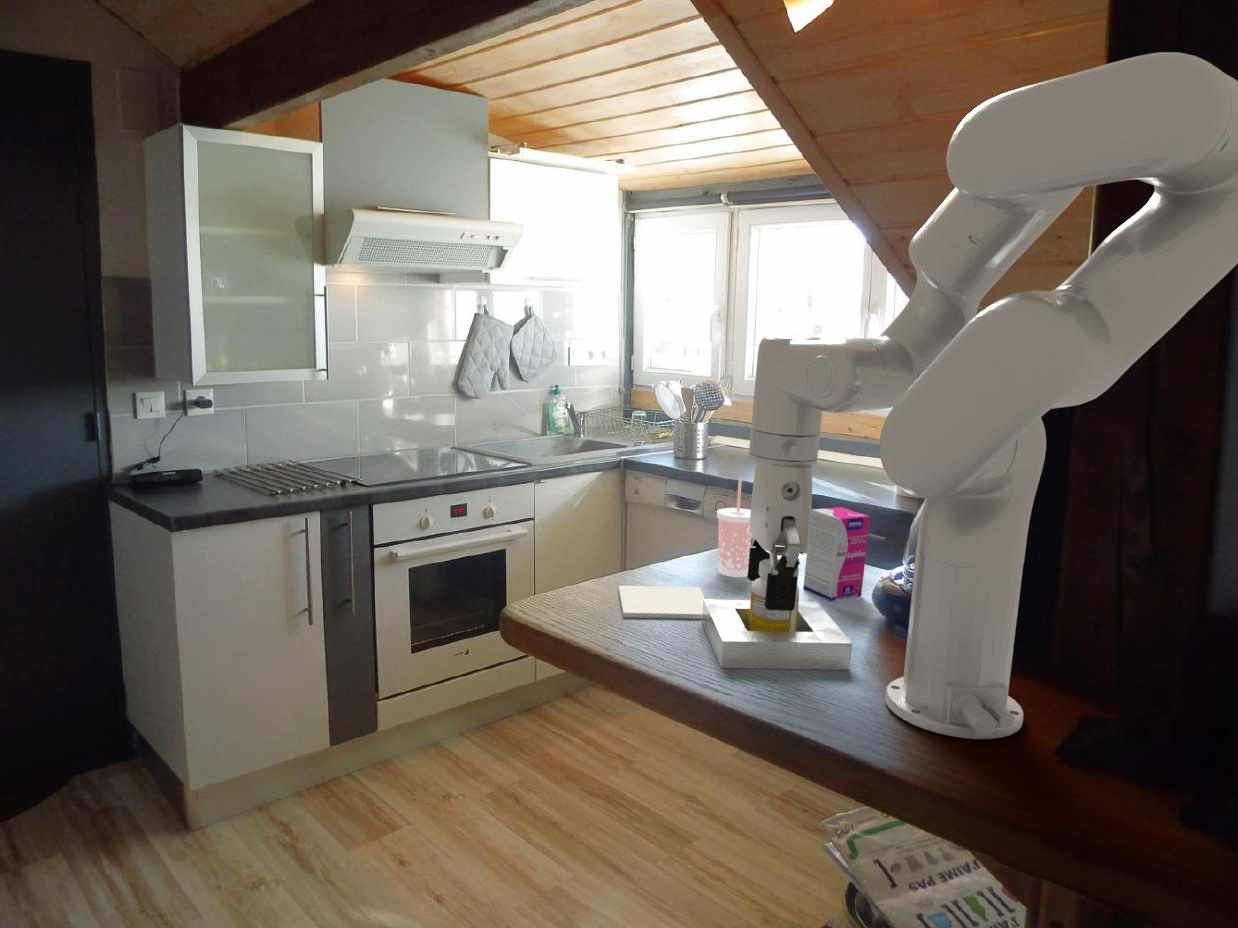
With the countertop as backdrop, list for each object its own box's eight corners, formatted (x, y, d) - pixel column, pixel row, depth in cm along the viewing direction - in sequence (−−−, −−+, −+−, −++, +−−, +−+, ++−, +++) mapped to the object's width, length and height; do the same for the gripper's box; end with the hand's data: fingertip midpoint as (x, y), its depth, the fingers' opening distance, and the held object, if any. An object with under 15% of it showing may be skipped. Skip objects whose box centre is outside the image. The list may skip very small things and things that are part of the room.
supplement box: (831, 602, 121) (838, 518, 119) (802, 589, 126) (808, 508, 124) (863, 597, 124) (871, 514, 122) (833, 584, 129) (840, 505, 127)
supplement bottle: (766, 633, 108) (771, 554, 107) (804, 646, 105) (810, 564, 103) (738, 643, 105) (743, 561, 103) (776, 657, 101) (782, 573, 99)
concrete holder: (849, 669, 98) (852, 643, 98) (721, 667, 97) (722, 640, 97) (815, 624, 112) (816, 601, 111) (701, 622, 111) (703, 599, 111)
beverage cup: (730, 580, 129) (736, 483, 127) (704, 569, 134) (710, 475, 132) (764, 575, 132) (770, 480, 130) (737, 564, 137) (743, 473, 135)
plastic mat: (712, 618, 113) (712, 614, 113) (623, 617, 112) (623, 612, 112) (699, 591, 123) (699, 587, 123) (618, 589, 123) (618, 585, 123)
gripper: (839, 464, 93) (822, 623, 96) (797, 436, 110) (784, 572, 113) (767, 460, 92) (752, 620, 95) (736, 432, 109) (724, 569, 112)
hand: (769, 594), depth 104 cm, fingers open, 9 cm apart
